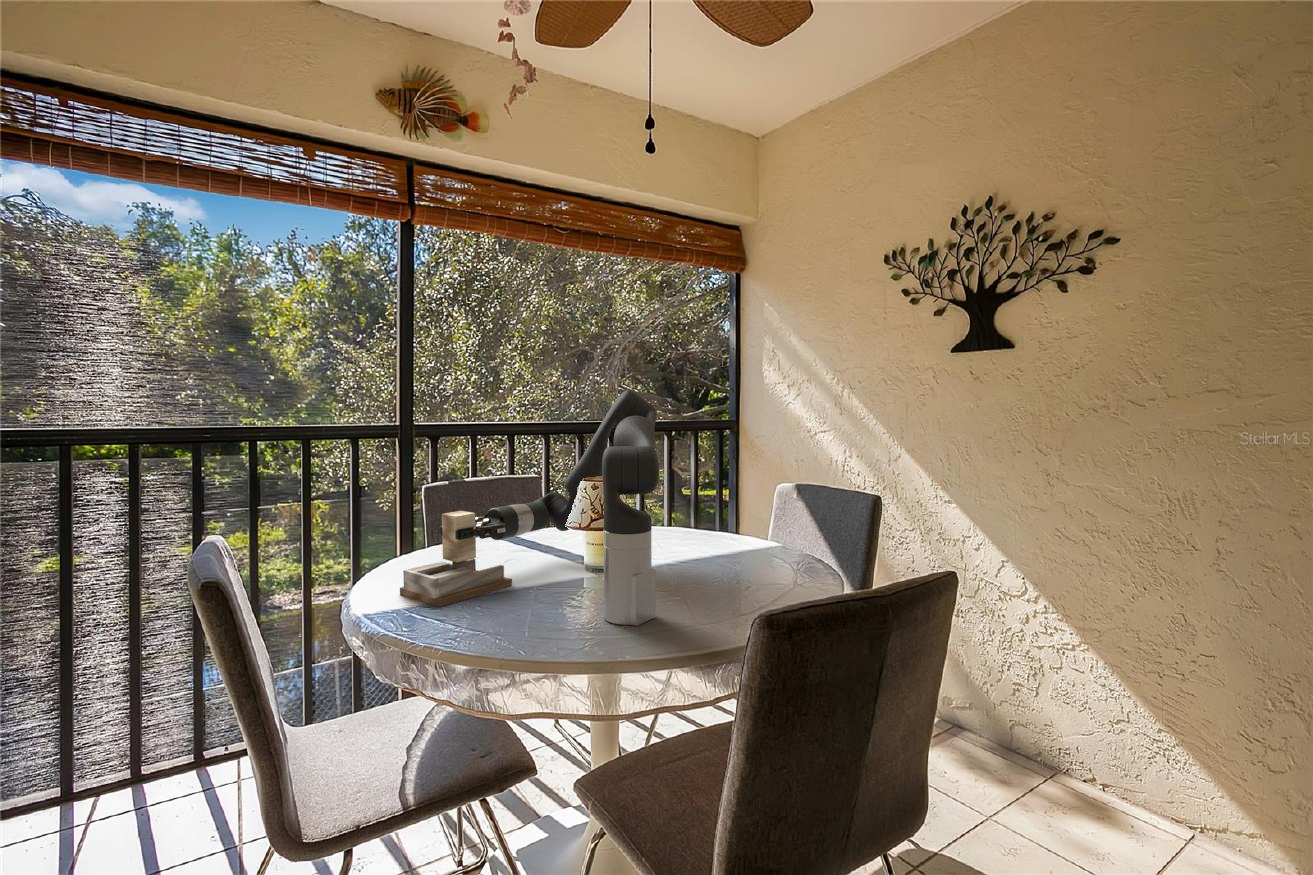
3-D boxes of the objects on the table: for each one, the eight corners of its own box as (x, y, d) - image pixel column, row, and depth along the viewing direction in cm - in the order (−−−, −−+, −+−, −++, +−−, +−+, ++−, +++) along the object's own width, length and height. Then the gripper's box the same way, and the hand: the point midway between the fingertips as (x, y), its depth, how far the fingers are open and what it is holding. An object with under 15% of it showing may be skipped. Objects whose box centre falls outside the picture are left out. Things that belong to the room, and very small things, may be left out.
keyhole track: (512, 585, 150) (511, 561, 149) (439, 607, 134) (438, 580, 134) (472, 575, 158) (472, 552, 158) (399, 594, 143) (399, 569, 142)
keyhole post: (482, 579, 147) (481, 512, 146) (456, 587, 142) (454, 517, 141) (463, 574, 152) (461, 509, 151) (436, 581, 146) (435, 514, 145)
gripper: (489, 502, 161) (428, 512, 148) (530, 508, 153) (469, 520, 139) (490, 533, 162) (429, 546, 148) (530, 541, 153) (469, 555, 140)
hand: (448, 533), depth 144 cm, fingers closed on keyhole post, 5 cm apart
